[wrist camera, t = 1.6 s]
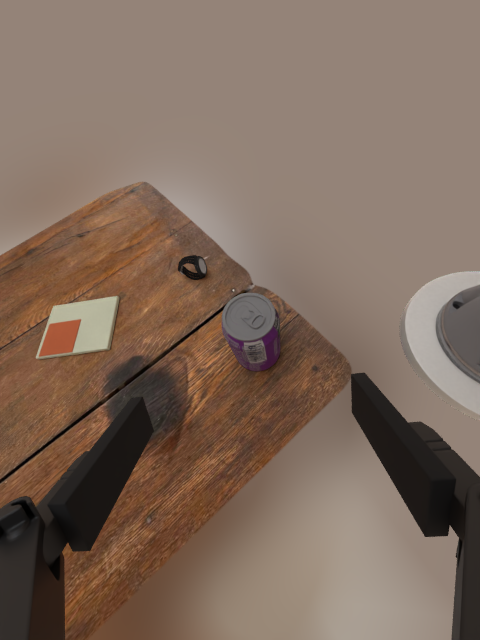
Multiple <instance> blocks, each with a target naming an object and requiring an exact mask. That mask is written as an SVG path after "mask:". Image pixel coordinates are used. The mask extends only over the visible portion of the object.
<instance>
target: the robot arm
mask: <svg viewBox="0 0 480 640" xmlns="http://www.w3.org/2000/svg"><path fill="white" fill-rule="evenodd" d="M436 334H437V338H438V341H439V343H440V346H441V348H442V349H443V351H444V353H445V354H446V355H447V357H448V358H449V359H450V360H451V362H452V363H453V364H454V365H455V366H456V367H457V368H458V369H460V370H461V371H462V372H463V373H464V374H466V375H467V376H468V377H470V378H471V379H473V380H475V381H476V382H478V383H480V285H477V286H474V287H471V288H468V289H465V290H463V291H461V292H459V293H458V294H456V295H455V296H454V297H453V298H451V299H450V300H449V301H448V302H447V303H445V304H444V305H443V307H442V308H441V309H440V311H439V313H438V315H437V318H436ZM351 391H352V413H353V415H354V417H355V418H356V420H357V422H358V423H359V425H360V427H361V429H362V430H363V432H364V434H365V435H366V437H367V439H368V440H369V442H370V444H371V446H372V447H373V449H374V451H375V452H376V454H377V456H378V457H379V459H380V461H381V463H382V464H383V466H384V468H385V469H386V471H387V473H388V474H389V476H390V478H391V480H392V481H393V483H394V485H395V486H396V488H397V490H398V492H399V493H400V495H401V497H402V498H403V500H404V502H405V503H406V505H407V507H408V509H409V510H410V512H411V514H412V515H413V517H414V519H415V520H416V522H417V524H418V526H419V527H420V529H421V531H422V532H423V534H424V536H425V537H435V536H448V532H449V525H450V526H451V527H452V528H453V530H454V531H455V533H456V534H457V536H458V537H459V542H458V547H457V553H456V558H457V568H456V582H455V597H454V612H453V626H452V640H480V477H479V476H478V475H477V474H476V473H475V472H474V471H473V470H472V469H471V468H470V466H468V465H467V464H466V462H465V461H464V460H463V459H462V458H461V457H460V456H459V455H458V454H457V453H456V452H455V451H454V450H452V449H451V447H450V446H449V445H448V444H447V443H446V442H445V441H443V439H442V438H441V437H440V436H439V435H438V434H437V433H436V432H435V431H434V430H433V429H432V428H430V427H429V426H427V425H425V424H424V423H422V422H410V423H408V422H407V421H406V420H405V419H404V418H403V417H402V415H401V414H400V413H399V412H398V411H397V410H396V409H395V407H394V406H393V405H392V404H391V403H390V402H389V400H388V399H387V398H386V397H385V396H384V395H383V394H382V393H381V391H380V390H379V389H378V388H377V386H376V385H375V384H374V383H373V382H372V381H371V380H370V379H369V378H368V376H367V375H366V374H365V373H357V374H351ZM153 432H154V430H153V427H152V424H151V421H150V418H149V415H148V412H147V409H146V406H145V403H144V399H143V397H136V398H131V399H130V401H129V402H128V403H127V404H126V406H125V407H124V408H123V409H122V411H121V412H120V413H119V414H118V416H117V417H116V418H115V419H114V421H113V422H112V423H111V424H110V426H109V427H108V428H107V429H106V431H105V432H104V433H103V435H102V436H101V437H100V438H99V440H98V441H97V442H96V443H95V445H94V446H93V447H92V448H91V450H90V451H86V452H84V453H83V454H82V455H81V456H80V457H78V458H77V459H76V460H75V461H74V462H73V463H72V465H71V466H70V467H69V468H68V469H67V472H65V473H64V474H63V475H62V477H61V479H60V480H58V482H57V483H56V484H55V485H54V486H53V488H52V489H51V490H50V491H49V492H48V494H47V495H46V496H45V497H44V498H43V500H42V501H41V502H40V503H39V505H38V506H37V507H35V505H34V503H33V501H32V500H31V498H30V497H27V496H24V497H19V498H17V499H15V500H13V501H11V502H9V503H8V504H6V505H5V506H3V507H2V508H1V509H0V640H65V593H64V556H63V553H62V551H63V549H64V547H65V546H66V544H67V543H69V545H70V547H71V549H72V551H73V552H74V551H90V550H91V548H92V546H93V544H94V542H95V540H96V538H97V537H98V535H99V533H100V531H101V529H102V527H103V525H104V523H105V522H106V520H107V518H108V516H109V514H110V512H111V510H112V508H113V507H114V505H115V503H116V501H117V499H118V497H119V495H120V493H121V492H122V490H123V488H124V486H125V484H126V482H127V480H128V478H129V477H130V475H131V473H132V471H133V469H134V467H135V465H136V463H137V462H138V460H139V458H140V456H141V454H142V452H143V450H144V448H145V447H146V445H147V443H148V441H149V439H150V437H151V435H152V433H153Z"/></svg>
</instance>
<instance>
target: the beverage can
mask: <svg viewBox="0 0 480 640" xmlns="http://www.w3.org/2000/svg"><path fill="white" fill-rule="evenodd" d="M222 331H223V334H224V336H225V338H226V340H227V342H228V344H229V346H230V347H231V349H232V351H233V353H234V355H235V356H236V358H237V360H238V362H239V363H240V364H241V365H242V366H243V367H245V368H246V369H248V370H252V371H262V370H266V369H268V368H270V367H271V366H272V365H274V364H275V362H276V361H277V360H278V357H279V355H280V320H279V315H278V313H277V311H276V309H275V308H274V306H273V304H272V303H271V302H270V300H268V299H267V298H266V297H264V296H263V295H260V294H257V293H244V294H240V295H238V296H236V297H234V298H233V299H231V300H230V301H229V302H228V303H227V305H226V306H225V308H224V310H223V314H222Z"/></svg>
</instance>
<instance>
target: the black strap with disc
mask: <svg viewBox="0 0 480 640" xmlns="http://www.w3.org/2000/svg"><path fill="white" fill-rule="evenodd" d="M193 258H194V259H193ZM188 260H189V262H188ZM186 261H187V262H186ZM186 263H191V264H193V265H194V266H195V269H196V271H197V273H193V272H191V271H189V270H187V269H186V268H185V267H184V266H183V265H184V264H186ZM182 268H183V269H182ZM178 271H179V272H180V273H181V274H185V275H186V273H187V275H186V276H187V277H189V278H191V279H194V280H198V279H202V278H204V277H205V276H206V273H207V266H206V263H205V261H204V259H203V258H202V257H200V256H198V257H197V256H195V255H193V256H187V257H184V258H183V259H181V261H180V262H179V266H178ZM184 271H185V272H186V273H184ZM189 272H190V273H191V274H189ZM192 274H193V275H192ZM195 274H196V276H195ZM197 274H198V275H199V276H198V275H197ZM189 275H191V277H190V276H189ZM192 276H193V277H194V278H192ZM195 277H196V278H195ZM198 277H199V278H198Z"/></svg>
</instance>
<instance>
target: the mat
mask: <svg viewBox="0 0 480 640" xmlns="http://www.w3.org/2000/svg"><path fill="white" fill-rule="evenodd" d="M119 300H120V298H119V297H118V296H114V297H108V298H102V299H96V300H89V301H83V302H77V303H71V304H64V305H58V306H53V309H52V312H51V315H50V318H49V320H48V323H47V326H46V329H45V332H44V335H43V338H42V341H41V344H40V347H39V350H38V353H37V356H36V358H37V359H46V358H54V357H61V356H68V355H76V354H83V353H91V352H98V351H105V350H110V347H111V342H112V336H113V331H114V326H115V321H116V315H117V310H118V305H119Z"/></svg>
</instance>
